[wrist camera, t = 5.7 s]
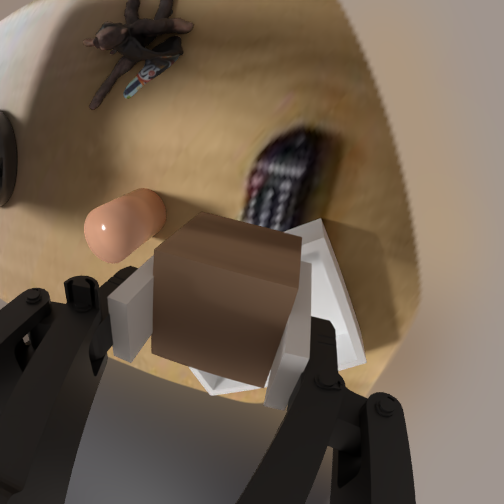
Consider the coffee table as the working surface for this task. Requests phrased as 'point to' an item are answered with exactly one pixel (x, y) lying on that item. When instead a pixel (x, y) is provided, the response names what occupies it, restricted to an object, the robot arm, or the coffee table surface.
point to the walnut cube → (224, 296)
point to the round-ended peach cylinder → (124, 224)
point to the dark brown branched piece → (139, 46)
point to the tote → (314, 307)
